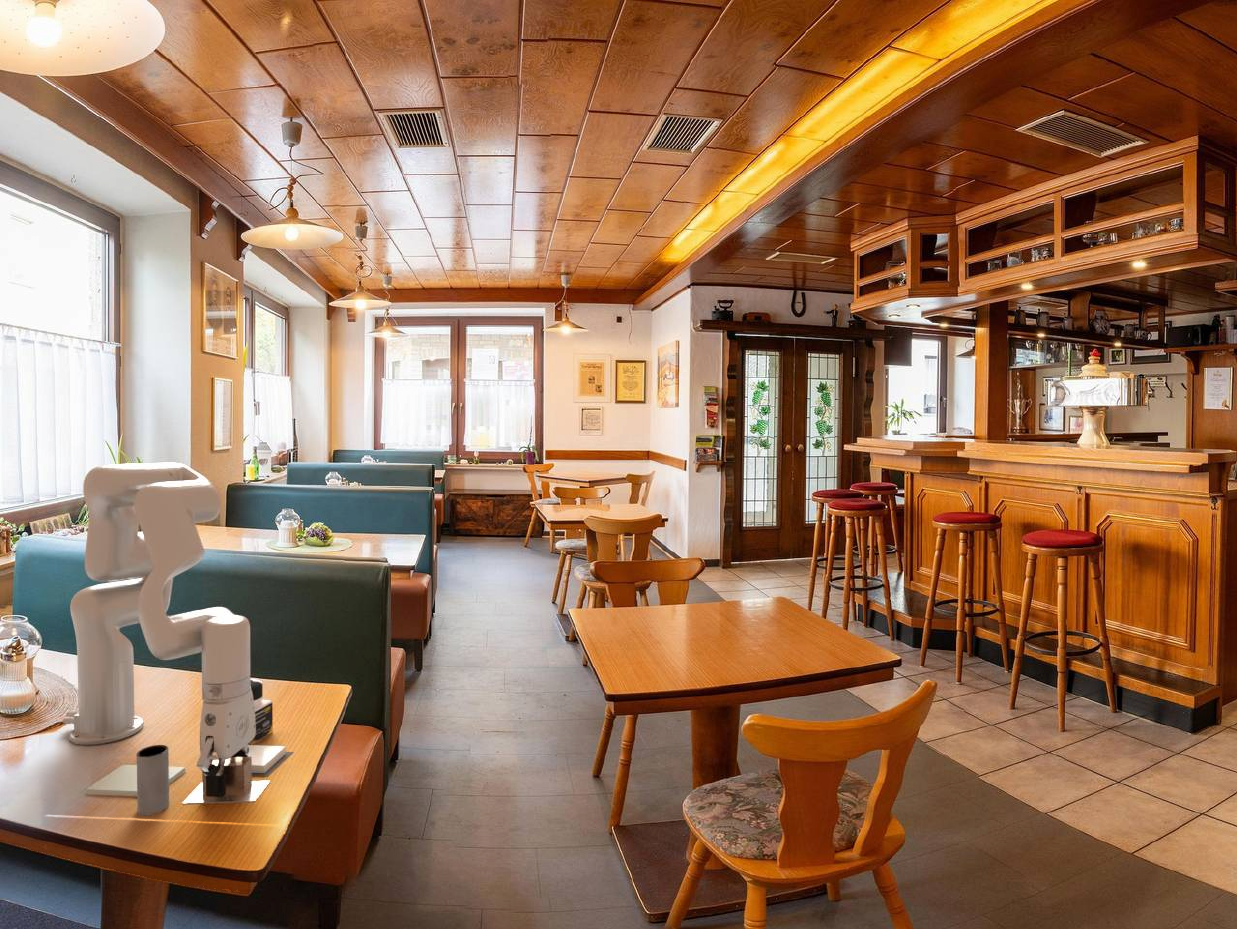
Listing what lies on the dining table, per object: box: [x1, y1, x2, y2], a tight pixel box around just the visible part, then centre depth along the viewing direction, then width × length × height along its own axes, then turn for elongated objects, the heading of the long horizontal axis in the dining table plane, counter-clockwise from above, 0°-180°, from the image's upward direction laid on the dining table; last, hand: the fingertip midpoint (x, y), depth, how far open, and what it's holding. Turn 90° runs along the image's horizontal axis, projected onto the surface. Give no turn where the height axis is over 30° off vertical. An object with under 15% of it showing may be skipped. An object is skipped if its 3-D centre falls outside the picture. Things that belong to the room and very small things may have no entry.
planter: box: [136, 744, 170, 816], centre depth 122 cm, size 4×4×10 cm
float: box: [181, 757, 271, 805], centre depth 127 cm, size 12×7×6 cm, turn 96°
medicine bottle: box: [249, 678, 274, 745], centre depth 149 cm, size 7×7×12 cm
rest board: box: [85, 764, 186, 797], centre depth 130 cm, size 12×9×1 cm
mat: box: [252, 751, 295, 778], centre depth 138 cm, size 12×10×1 cm
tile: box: [246, 744, 287, 773], centre depth 138 cm, size 2×8×8 cm
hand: (227, 785), depth 127 cm, fingers open, 6 cm apart
